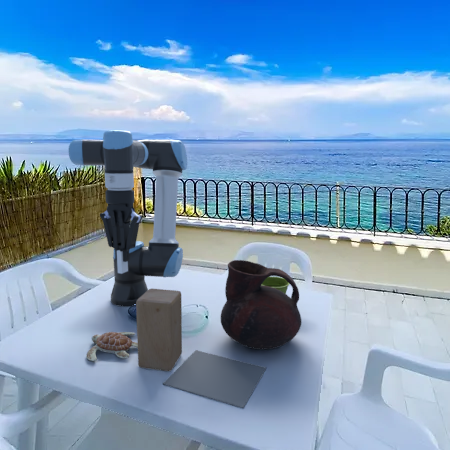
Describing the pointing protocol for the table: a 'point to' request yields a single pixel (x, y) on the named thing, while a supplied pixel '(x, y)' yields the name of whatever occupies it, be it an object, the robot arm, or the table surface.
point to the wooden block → (159, 329)
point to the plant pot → (276, 283)
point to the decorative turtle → (111, 344)
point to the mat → (217, 378)
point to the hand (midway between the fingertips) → (122, 271)
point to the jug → (259, 307)
